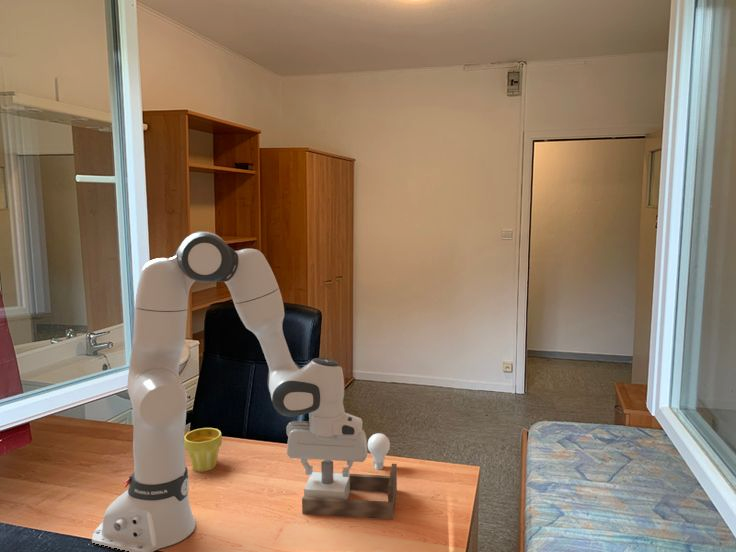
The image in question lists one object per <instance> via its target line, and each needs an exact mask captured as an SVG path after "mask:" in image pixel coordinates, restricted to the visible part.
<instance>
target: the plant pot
mask: <svg viewBox="0 0 736 552" xmlns="http://www.w3.org/2000/svg"><path fill="white" fill-rule="evenodd" d="M222 438H223V437H222V432H221V430H219V429H218V428H213V427H202V428H197V429H193V430H191V431H189V432H187V433H186V434H184V443H185V451H187V453H188V456H189V459H190V463H191V466H192V469H193V471H196V472H207V471H210V470H213V469H214V468H215V467H216V466H217V461H218V456H219V451H220V447H221V446H222V442H223V441H222Z"/></svg>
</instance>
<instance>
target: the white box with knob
mask: <svg viewBox="0 0 736 552" xmlns="http://www.w3.org/2000/svg"><path fill="white" fill-rule="evenodd" d="M320 465H321V467H320V468H321V471H313V473H312V475H309V478H308V480H307V482H306V484H305V486H304V489H303V497H319V498H336V499H349V496H350V494H351V490H350V474H351V473H349V477H343V474H341V473H342V472H334V460H322V461H321V463H320Z"/></svg>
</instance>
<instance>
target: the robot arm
mask: <svg viewBox="0 0 736 552" xmlns="http://www.w3.org/2000/svg"><path fill="white" fill-rule="evenodd" d="M138 278H139V280H138V283H137V288H136V294H135V295H136V296H135V303H134V304H135V306H134V320H133V336H132V345H131V353H130V359H129V367H128V375H127V386H126V387H127V388H126V389H127V393H128V395H129V398H130V403H131V407H132V416H133V419H132V421H133V425H132V426H133V427H132V428H133V430H132V431H133V436H132V438H133V439H132V454H133V455H132V456H133V468H134V469H133V471H134V473H132V474H130V475H129V477H128V479H127V480H126V481H124V483H123V484H124V486H123V488H124V489H125V488H126V487H128V489H127V490H125V491H123V493H121V494H120V495H119V496H118V497H117V498H115V499H114V500H113V501H112V502H111V503H110V504H109V505H108V507H107V509H106V510H105V512H104V515H103V518H102V522H101V523H100V524H99V525H98V526H97V527H96V528H95V530H94V532H93V534H92V536H91V543H92V544H93V543H95V544H94V545H96V544H99V545H98V546H101V545H104V546H103V547H105V546H108V547H107V548H109V547H111V548H110V549H114V548H117V549H116V550H118V549H120V550H119V551H122V550H125V551H124V552H127V551H129V552H155V551H157V550H160V549H163V548H166V547H170V546H172V545H176V544H177V543H180V542H181V541H184V540H185V539H186V538H188V537H189V536H191V534H192V533H193V532H194V530H195V528H196V526H197V525H196V520H195V518H194V514H193V512H192V509H191V503H190V499H189V487H190V485H189V483H190V482H189V470H188V467H187V465H186V449H185V443H184V437H185V435H186V434H185V432H186V431H185V430H186V420H187V405H188V400H187V399H188V397H187V396H188V395H187V391H186V388H185V386H184V384H183V383H182V382H181V380H180V375H179V369H180V364H181V359H182V354H183V350H184V347H185V344H186V336H187V321H188V307H189V306H188V304H189V303H188V302H189V294H190V290H191V287H192V285H193V284H194V283H195V282H198V283H218V282H219V283H225V285H226V287H227V288H228V291H229V293H230V296H231V299H232V301H233V304H234V308H235V310H236V312H237V314H238V317H239V318H240V321H241V322H242V324H243V326H244V327H245V329H247V330H248V331H250V332H252V333H253V335H255V337H256V338H257V340H258V341H259V345H260V347H261V350H262V353H263V354H264V358H265V360H266V363H267V367H268V373H267V389H268V392H269V393H270V398H271V402H272V406H273V408H274V409H275V411H276V412H277V413H278V414H280V415H281V416H284V417H287V418H293V417H297V416H302V415H307V414H308V418H309V419H308V421H306V420H305V421H301V420H300V421H299V420H292V421H291V422H288V424H287V426H286V435H287V437H288V438H287V445H286V454H287V457H288V458H289V459H300V463H301V465H302V466H303V468H304V469H305V475H306V476H307V475H308V476H311V475H312V473H313V472H314V471H313V468H314V466H313V465H310V464H309V462H308V460H319V461H320V460H322V461H324V460H331V461H337V462H338V461H339V462H346V465H347V466H346V467H343V468H342V472H341V473H343V477H349V474H350V470H351V468H352V466H353V465H354V463H356V462H357V463H363V462H365V460H366V459H367V458H368V441H367V435H366V432H365V430H364V429H363V419H362V418H361V417H358V416H356V415H352V414H350V413H348V412H345V407H344V397H345V380H344V379H345V378H344V371H343V368H342V366H341V364H339V362H337V361H336V360H334V359H332V358H331V359H330V358H326V357H316V358H312V359H311V361H309V363H307V364H305V365H304V366H303V367H300V365H298V363H296V361H294V359H293V357H292V355H291V352H290V350H289V346H288V344H287V341H286V338H285V335H284V330H283V323H284V319H285V306H284V302H283V297H282V293H281V290H280V287H279V284H278V282H277V279H276V276H275V275H274V272H273V270H272V267H271V265H270V264H269V262H268V260H267V259H266V257H265V254H263V253H262V252H261V251H260V250H259V249H255V248H243V249H239V250H234V249H233V248H232V247H230V246H229V245H228V244H227V243H226V242H225V240H224V239H223V238H222V237H220V235H218V234H217V233H215V232H211V231H206V230H199V231H194V232H192V233H190V234H188V235H187V236H186V237H185V238H184V239H183V240H182V241H181V243H180V245H179V246H178V248H177V250H176V251H175V252H174V254H173V255H172V257H160V258H159V257H158V258H154V259H151V260H149V261H148V262H146V263H145V264H144V265H143V267H142V268H141V271H140V275H139V277H138Z"/></svg>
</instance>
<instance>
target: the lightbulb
mask: <svg viewBox="0 0 736 552" xmlns="http://www.w3.org/2000/svg"><path fill="white" fill-rule="evenodd" d="M390 447H391V442H390V439H389V438H388V436H386V434H384V433H380V432H378V433H374V434H372V435H371V436H370V437H369V438H368V441H367V450H368V452H369V453H370V454H371V456H372V461H373V467H374V470H377V471H380V470H383V469H384V461H385V457H386V455H388V452H389V451H390V449H391V448H390Z"/></svg>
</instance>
